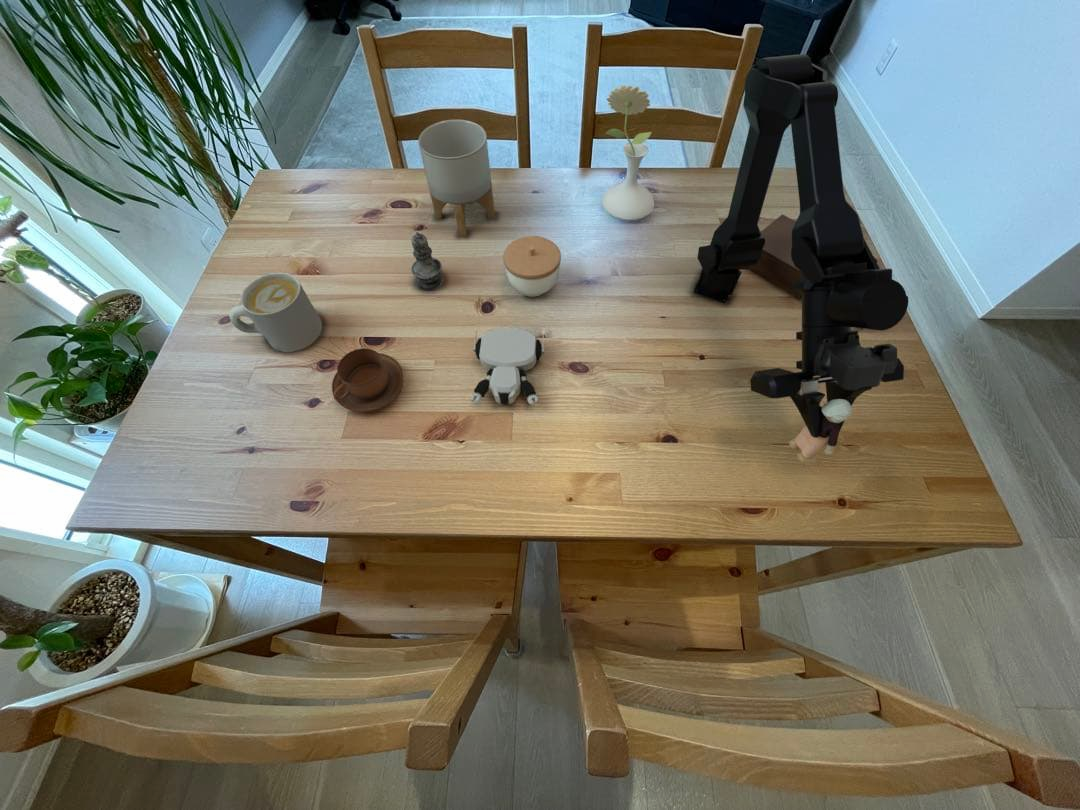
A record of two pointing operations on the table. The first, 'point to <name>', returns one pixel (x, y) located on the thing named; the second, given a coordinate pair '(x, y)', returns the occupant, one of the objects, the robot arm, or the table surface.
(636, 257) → the table surface
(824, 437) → the grandmother figurine
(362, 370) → the cup and saucer
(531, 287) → the trinket box
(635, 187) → the flower in vase
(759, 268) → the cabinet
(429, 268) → the stone statuette
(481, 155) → the planter
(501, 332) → the robot toy
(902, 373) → the robot arm
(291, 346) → the coffee mug
